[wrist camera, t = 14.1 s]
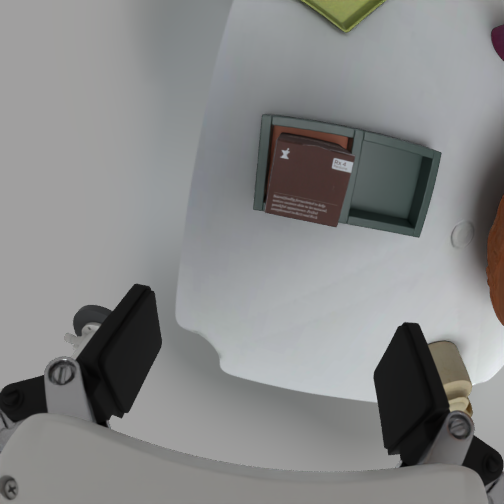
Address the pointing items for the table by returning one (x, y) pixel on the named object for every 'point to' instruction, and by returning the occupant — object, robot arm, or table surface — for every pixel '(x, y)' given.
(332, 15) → the saucer
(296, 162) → the box
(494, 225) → the bowl
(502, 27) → the cup
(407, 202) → the tray
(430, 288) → the table surface
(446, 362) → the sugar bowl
